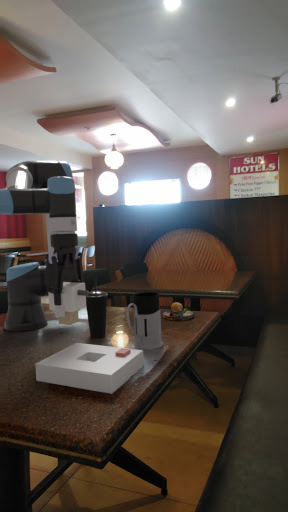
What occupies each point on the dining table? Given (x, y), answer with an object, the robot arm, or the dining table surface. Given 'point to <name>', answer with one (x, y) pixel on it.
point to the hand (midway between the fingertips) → (68, 313)
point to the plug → (71, 301)
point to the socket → (90, 367)
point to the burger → (178, 313)
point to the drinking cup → (96, 312)
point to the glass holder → (146, 320)
